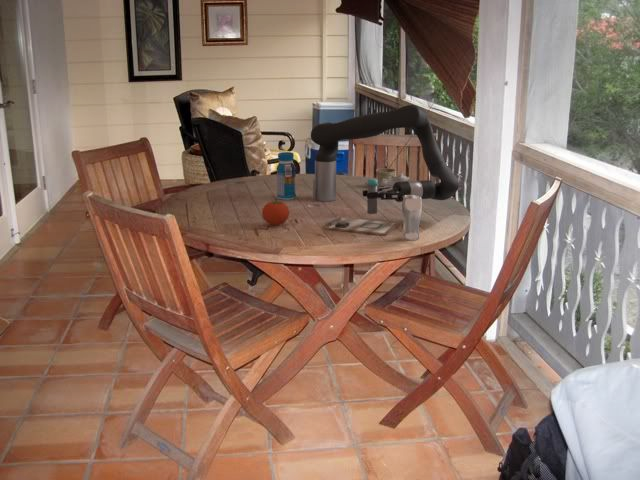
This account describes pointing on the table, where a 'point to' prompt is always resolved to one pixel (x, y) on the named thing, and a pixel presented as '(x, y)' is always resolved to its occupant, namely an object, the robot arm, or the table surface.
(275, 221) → the tomato
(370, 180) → the marker
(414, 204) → the beer glass
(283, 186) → the beverage bottle
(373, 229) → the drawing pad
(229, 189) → the table surface
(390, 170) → the flower pot
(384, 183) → the dog figurine
